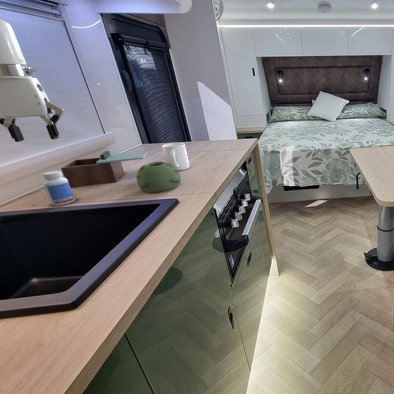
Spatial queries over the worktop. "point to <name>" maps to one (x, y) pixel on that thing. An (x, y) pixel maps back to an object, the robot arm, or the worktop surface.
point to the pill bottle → (58, 188)
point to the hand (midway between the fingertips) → (37, 139)
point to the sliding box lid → (121, 156)
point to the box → (91, 172)
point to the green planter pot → (158, 177)
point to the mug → (176, 155)
